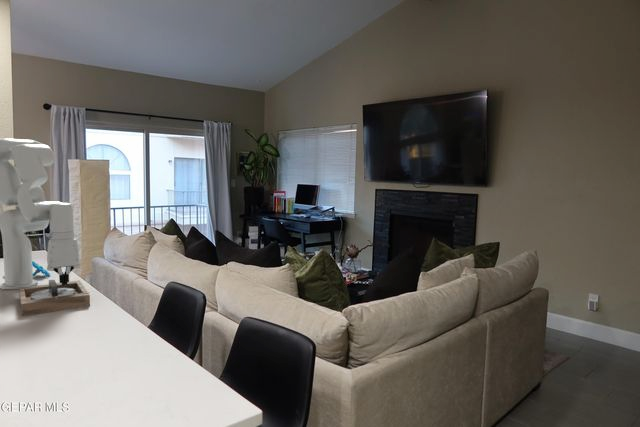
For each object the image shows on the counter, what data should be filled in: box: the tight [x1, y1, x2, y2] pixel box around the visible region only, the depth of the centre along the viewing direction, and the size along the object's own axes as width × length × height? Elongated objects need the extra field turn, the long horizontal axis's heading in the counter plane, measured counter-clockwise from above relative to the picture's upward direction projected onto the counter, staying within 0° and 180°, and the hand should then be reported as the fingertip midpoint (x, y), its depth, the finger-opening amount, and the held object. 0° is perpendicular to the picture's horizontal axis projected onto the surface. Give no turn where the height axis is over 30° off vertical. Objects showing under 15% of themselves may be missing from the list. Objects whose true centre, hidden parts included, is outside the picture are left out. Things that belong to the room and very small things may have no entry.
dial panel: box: [18, 280, 91, 317], centre depth 159 cm, size 24×20×4 cm
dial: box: [30, 279, 76, 300], centre depth 159 cm, size 14×14×5 cm
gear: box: [32, 260, 51, 278], centre depth 195 cm, size 11×6×10 cm
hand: (64, 284), depth 164 cm, fingers closed
